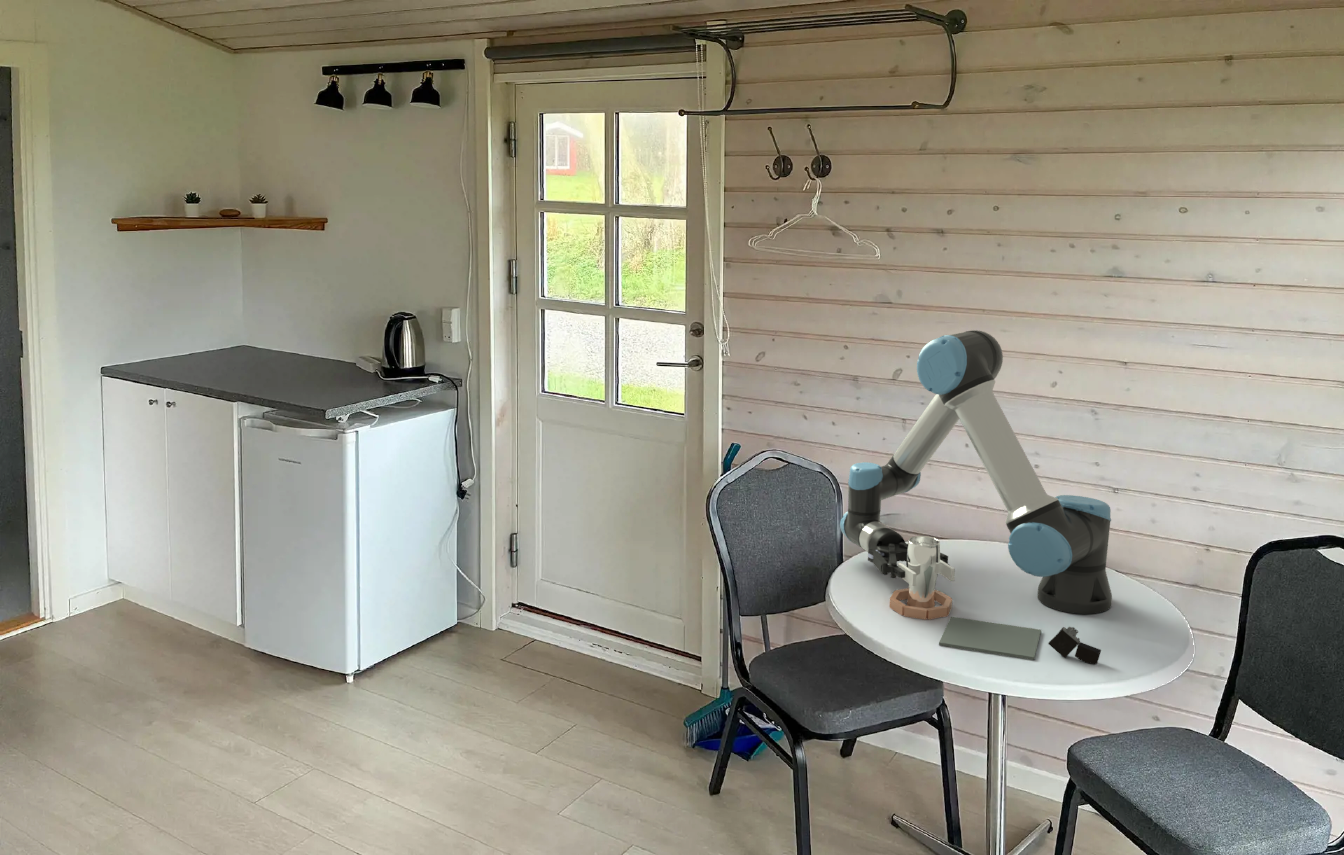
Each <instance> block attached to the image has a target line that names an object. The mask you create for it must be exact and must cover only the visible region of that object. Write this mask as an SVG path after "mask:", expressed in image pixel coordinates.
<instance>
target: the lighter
mask: <svg viewBox="0 0 1344 855" xmlns="http://www.w3.org/2000/svg"><path fill="white" fill-rule="evenodd" d="M1078 633H1079V630H1077V629H1076V628H1075V627H1072V626H1068V627H1067V628H1066V626H1065V627H1064V626H1063V627H1061V629H1060V630H1059V631H1058V632H1057V634H1056V635H1055V636H1054V637H1053V638H1052V639H1050V641H1049V642H1048V643H1047V645H1049V646H1050V647H1051V648H1052V649H1053V650H1055V651H1056V652H1057V653H1058V654H1059V655H1061V657H1063V658H1064V659H1066V658H1067V657H1068V655H1070V653H1072V651H1073V650H1075V649H1076V651H1075V654H1074V657H1075V658H1076V659H1078V660H1079V661H1080V662H1081V661H1082V662H1083V663H1087V664H1089V665H1097V664H1098V662H1099V659H1100V655H1101V652H1102V649H1099V648H1096V647H1094V646H1092V645H1090V644H1087V643H1084V642H1081V640H1080V639H1081V638H1079V637H1077V635H1078Z"/></svg>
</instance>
